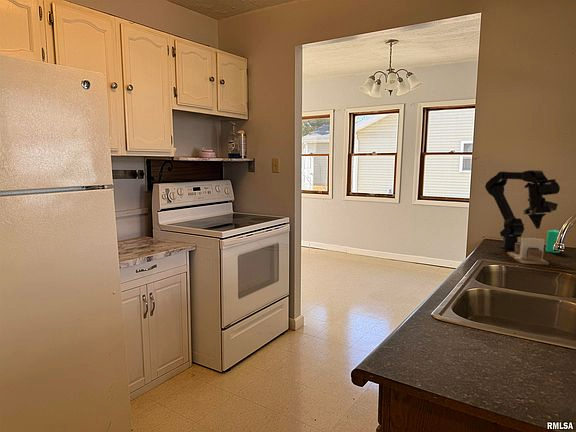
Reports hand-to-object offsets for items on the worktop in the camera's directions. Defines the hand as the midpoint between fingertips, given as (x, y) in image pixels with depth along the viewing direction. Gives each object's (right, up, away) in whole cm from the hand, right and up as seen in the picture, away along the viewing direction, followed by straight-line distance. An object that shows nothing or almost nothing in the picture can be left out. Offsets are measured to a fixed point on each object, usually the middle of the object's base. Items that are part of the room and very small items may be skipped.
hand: (537, 228), depth 188 cm
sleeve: (-10, -13, -11) cm, 20 cm away
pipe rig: (-9, -14, -6) cm, 18 cm away
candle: (+15, -12, +11) cm, 22 cm away
